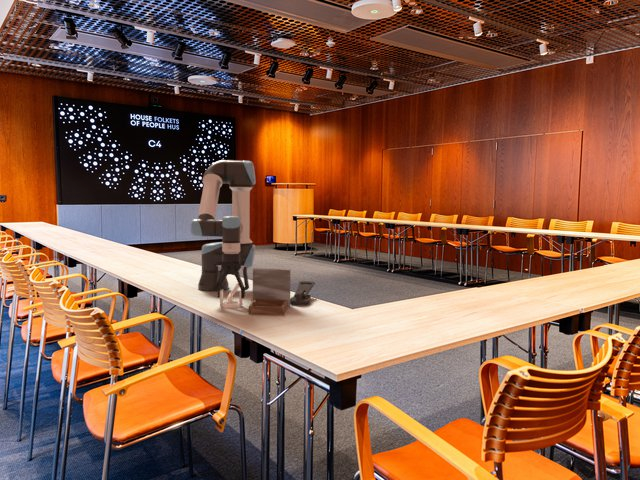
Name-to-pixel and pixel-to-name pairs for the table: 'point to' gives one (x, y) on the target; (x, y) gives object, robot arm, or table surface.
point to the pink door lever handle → (231, 299)
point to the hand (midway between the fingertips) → (231, 305)
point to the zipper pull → (302, 294)
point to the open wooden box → (270, 291)
